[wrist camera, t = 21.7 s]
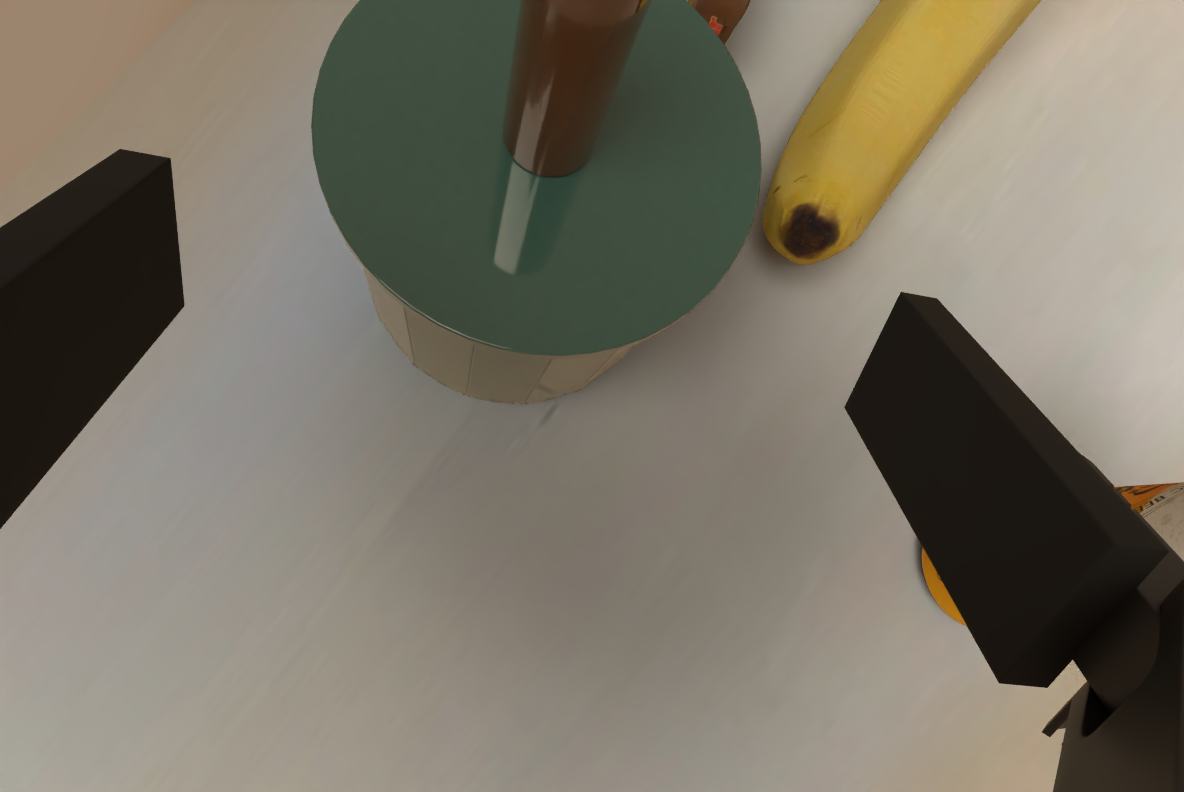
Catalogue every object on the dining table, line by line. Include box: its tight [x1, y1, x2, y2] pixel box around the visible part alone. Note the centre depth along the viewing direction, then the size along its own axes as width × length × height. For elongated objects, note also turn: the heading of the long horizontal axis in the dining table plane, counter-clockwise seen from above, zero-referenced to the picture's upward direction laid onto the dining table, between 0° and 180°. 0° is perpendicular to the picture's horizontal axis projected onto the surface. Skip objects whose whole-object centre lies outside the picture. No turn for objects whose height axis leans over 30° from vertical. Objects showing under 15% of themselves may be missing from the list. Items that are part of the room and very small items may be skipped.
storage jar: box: [363, 268, 636, 404], centre depth 29 cm, size 13×13×12 cm
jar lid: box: [311, 0, 761, 360], centre depth 19 cm, size 14×14×10 cm
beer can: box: [922, 483, 1184, 626], centre depth 29 cm, size 6×6×15 cm
